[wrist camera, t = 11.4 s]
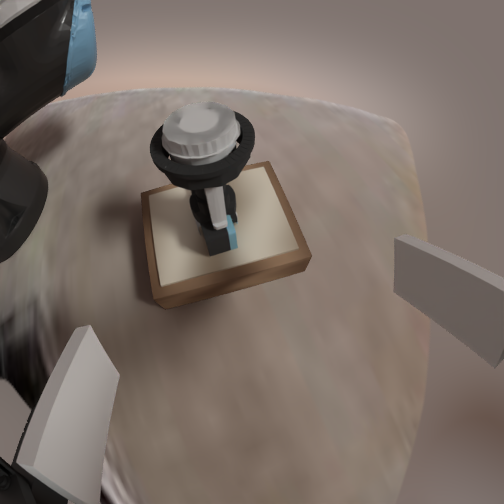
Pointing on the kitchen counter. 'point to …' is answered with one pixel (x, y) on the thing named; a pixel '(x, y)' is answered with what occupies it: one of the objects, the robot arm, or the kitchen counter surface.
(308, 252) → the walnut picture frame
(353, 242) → the kitchen counter surface
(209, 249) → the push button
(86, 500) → the robot arm
